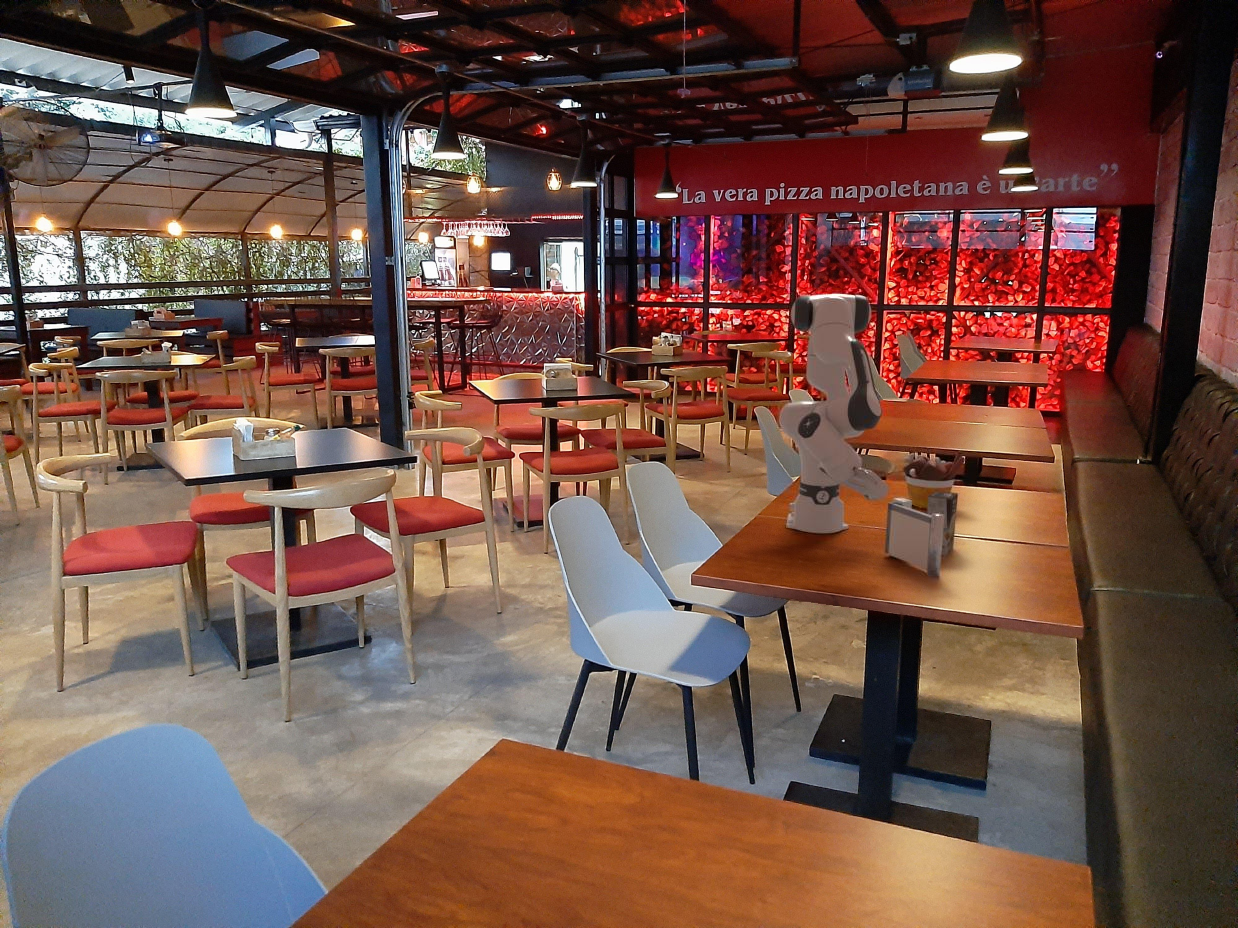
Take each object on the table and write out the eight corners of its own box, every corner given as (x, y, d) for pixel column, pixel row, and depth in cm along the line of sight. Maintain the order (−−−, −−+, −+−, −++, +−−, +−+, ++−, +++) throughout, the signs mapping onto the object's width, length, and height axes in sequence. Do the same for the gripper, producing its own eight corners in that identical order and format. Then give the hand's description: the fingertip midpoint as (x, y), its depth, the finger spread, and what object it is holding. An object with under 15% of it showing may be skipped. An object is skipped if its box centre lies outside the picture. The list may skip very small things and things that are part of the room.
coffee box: (947, 555, 248) (951, 499, 245) (923, 552, 251) (927, 496, 248) (953, 548, 256) (958, 492, 253) (930, 544, 259) (934, 490, 256)
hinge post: (925, 573, 232) (930, 513, 229) (937, 573, 232) (942, 513, 229) (929, 577, 229) (933, 516, 226) (941, 577, 229) (946, 516, 226)
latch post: (907, 558, 245) (911, 500, 242) (898, 559, 244) (902, 501, 241) (898, 554, 249) (902, 497, 246) (889, 555, 248) (893, 498, 245)
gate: (931, 569, 232) (935, 516, 229) (926, 570, 231) (930, 517, 229) (889, 551, 248) (892, 502, 245) (884, 552, 247) (888, 502, 244)
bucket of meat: (896, 508, 302) (900, 450, 299) (901, 498, 317) (905, 442, 314) (960, 514, 295) (965, 454, 291) (961, 504, 310) (966, 447, 306)
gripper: (876, 463, 221) (906, 498, 226) (828, 448, 239) (857, 481, 245) (860, 482, 220) (890, 517, 225) (813, 465, 239) (842, 498, 244)
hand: (872, 498), depth 235 cm, fingers closed
